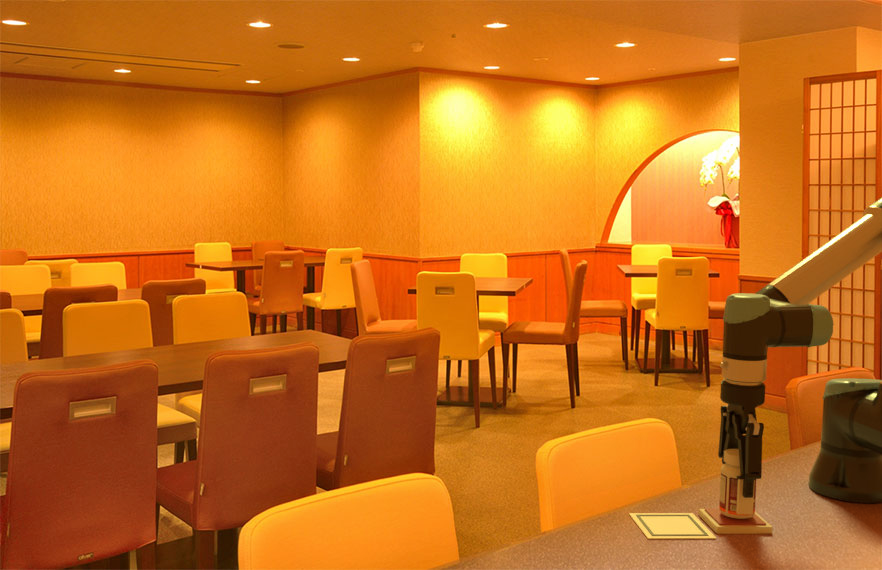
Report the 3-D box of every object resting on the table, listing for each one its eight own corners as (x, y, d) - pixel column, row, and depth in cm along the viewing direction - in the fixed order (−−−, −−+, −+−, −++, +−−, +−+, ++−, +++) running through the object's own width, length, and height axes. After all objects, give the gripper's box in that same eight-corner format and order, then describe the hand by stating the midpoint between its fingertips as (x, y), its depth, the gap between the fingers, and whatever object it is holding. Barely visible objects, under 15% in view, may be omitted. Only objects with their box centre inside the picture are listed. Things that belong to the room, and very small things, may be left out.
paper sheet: (692, 514, 167) (692, 512, 167) (716, 539, 155) (716, 537, 155) (628, 514, 166) (628, 512, 166) (648, 539, 155) (648, 537, 154)
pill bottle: (761, 515, 162) (765, 454, 160) (739, 522, 158) (742, 459, 157) (733, 505, 167) (736, 445, 166) (711, 511, 163) (714, 450, 162)
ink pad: (751, 515, 168) (751, 507, 167) (772, 533, 159) (772, 525, 158) (698, 515, 167) (699, 507, 167) (716, 533, 158) (717, 525, 158)
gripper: (703, 370, 169) (697, 489, 172) (744, 393, 150) (737, 526, 153) (742, 370, 170) (736, 488, 172) (787, 393, 151) (780, 526, 153)
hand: (736, 506), depth 162 cm, fingers closed on pill bottle, 6 cm apart
